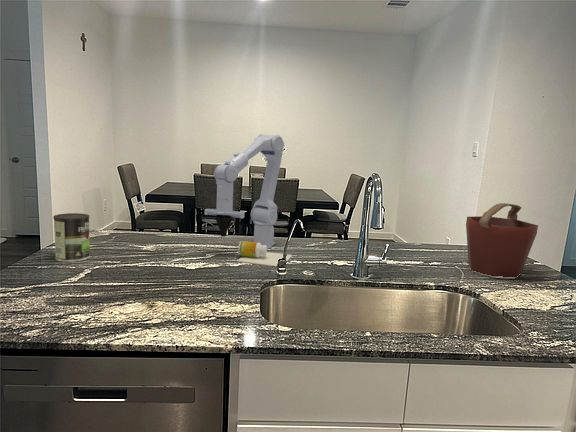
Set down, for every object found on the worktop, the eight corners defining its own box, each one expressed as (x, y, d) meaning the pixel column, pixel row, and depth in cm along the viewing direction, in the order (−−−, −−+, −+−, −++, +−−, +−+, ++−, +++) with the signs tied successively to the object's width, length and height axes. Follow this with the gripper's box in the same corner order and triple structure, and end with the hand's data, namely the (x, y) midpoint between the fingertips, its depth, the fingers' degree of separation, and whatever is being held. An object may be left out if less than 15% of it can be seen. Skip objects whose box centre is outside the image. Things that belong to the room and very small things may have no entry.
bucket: (494, 262, 163) (503, 199, 158) (548, 280, 143) (560, 208, 138) (446, 266, 153) (454, 199, 149) (496, 285, 133) (507, 209, 129)
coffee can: (95, 254, 141) (95, 214, 139) (80, 263, 131) (79, 219, 129) (66, 252, 141) (64, 212, 139) (48, 261, 131) (46, 217, 129)
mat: (251, 251, 158) (252, 250, 158) (292, 256, 154) (292, 255, 154) (236, 261, 143) (236, 260, 143) (281, 267, 139) (281, 266, 139)
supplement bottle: (236, 253, 145) (263, 256, 144) (239, 238, 147) (266, 241, 146) (240, 257, 150) (266, 260, 149) (242, 243, 152) (268, 245, 151)
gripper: (201, 198, 145) (200, 236, 147) (240, 201, 142) (238, 240, 144) (209, 196, 152) (208, 232, 154) (247, 199, 149) (245, 236, 151)
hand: (223, 236), depth 150 cm, fingers closed
